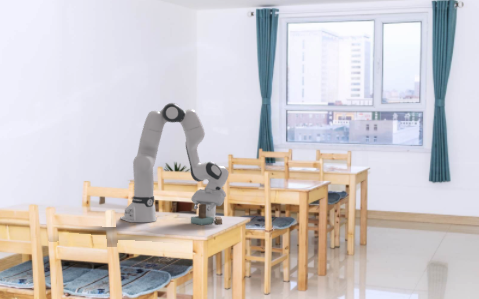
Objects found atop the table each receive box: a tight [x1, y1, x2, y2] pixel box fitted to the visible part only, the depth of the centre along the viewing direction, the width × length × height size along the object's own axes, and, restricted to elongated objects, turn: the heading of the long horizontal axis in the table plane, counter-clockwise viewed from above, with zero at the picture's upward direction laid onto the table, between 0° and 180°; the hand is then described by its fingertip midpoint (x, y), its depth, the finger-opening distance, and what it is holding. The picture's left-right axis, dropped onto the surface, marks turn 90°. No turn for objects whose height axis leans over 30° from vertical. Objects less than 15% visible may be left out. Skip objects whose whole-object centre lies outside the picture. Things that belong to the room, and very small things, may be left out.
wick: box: [214, 216, 223, 225], centre depth 344 cm, size 10×3×3 cm, turn 7°
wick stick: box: [197, 204, 206, 219], centre depth 340 cm, size 3×3×10 cm
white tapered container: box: [206, 205, 217, 221], centre depth 356 cm, size 10×10×12 cm
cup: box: [190, 215, 214, 226], centre depth 340 cm, size 9×9×4 cm
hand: (201, 209), depth 340 cm, fingers open, 8 cm apart
